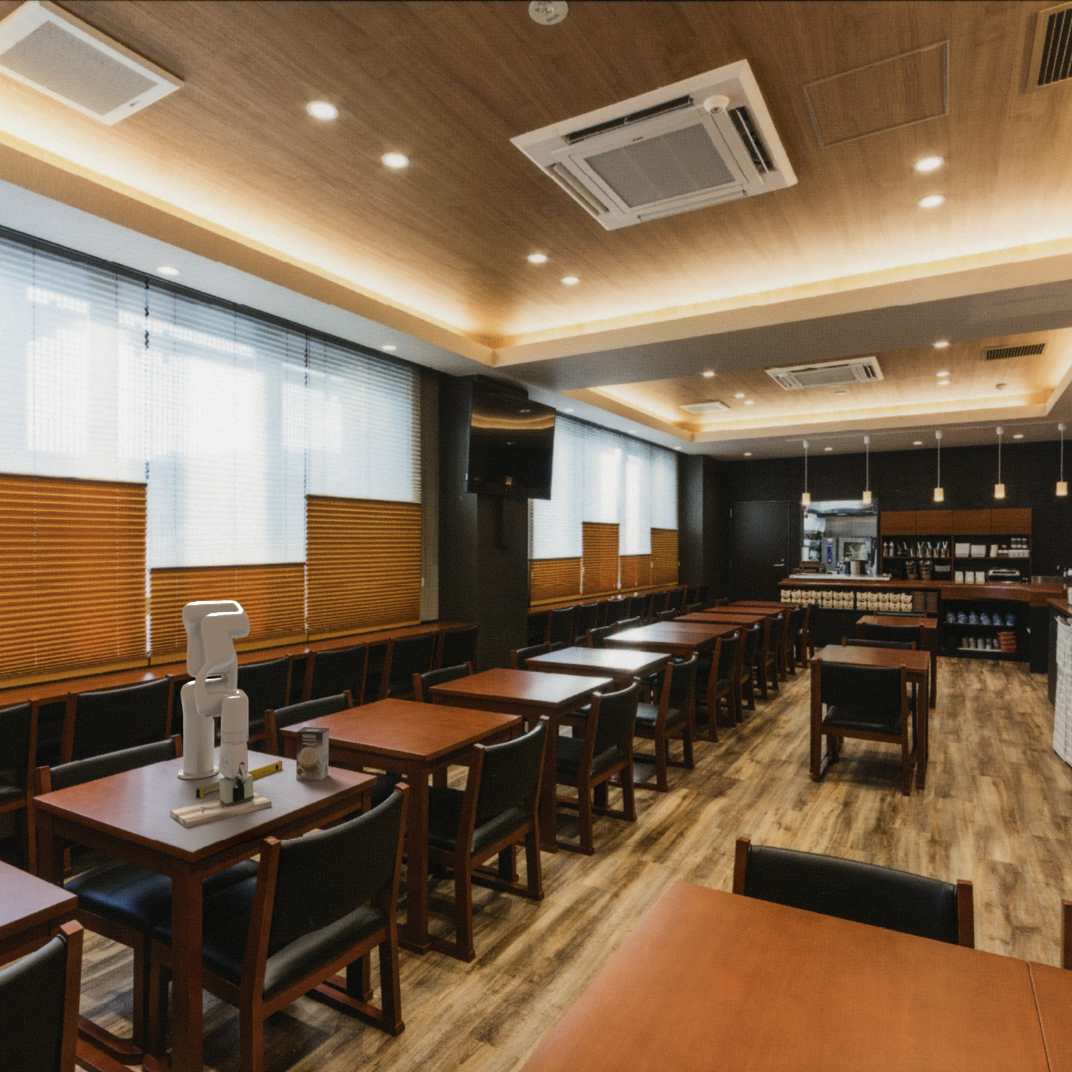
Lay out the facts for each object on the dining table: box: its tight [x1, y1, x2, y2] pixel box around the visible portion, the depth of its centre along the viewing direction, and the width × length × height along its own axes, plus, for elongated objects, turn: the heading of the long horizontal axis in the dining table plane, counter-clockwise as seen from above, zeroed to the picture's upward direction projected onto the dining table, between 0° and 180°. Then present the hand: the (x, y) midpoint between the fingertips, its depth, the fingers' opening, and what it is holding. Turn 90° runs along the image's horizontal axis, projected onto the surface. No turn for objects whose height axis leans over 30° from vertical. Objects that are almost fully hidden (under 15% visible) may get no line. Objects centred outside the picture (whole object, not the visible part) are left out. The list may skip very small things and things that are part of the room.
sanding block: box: [218, 773, 255, 807], centre depth 218 cm, size 5×8×7 cm, turn 131°
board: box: [170, 790, 272, 829], centre depth 215 cm, size 13×24×2 cm, turn 134°
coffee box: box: [295, 726, 330, 781], centre depth 246 cm, size 9×6×16 cm
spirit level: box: [195, 760, 283, 799], centre depth 240 cm, size 33×1×3 cm, turn 153°
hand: (234, 797), depth 217 cm, fingers closed on sanding block, 5 cm apart
